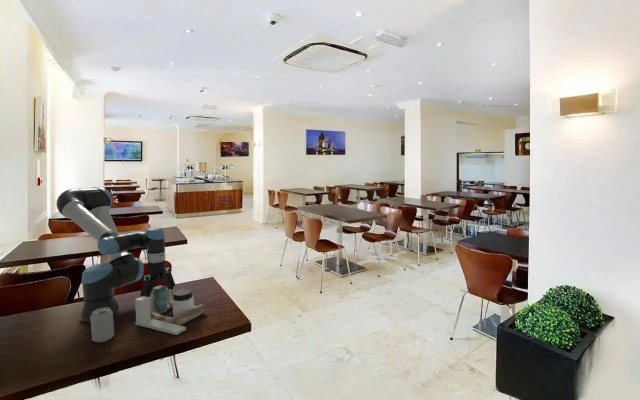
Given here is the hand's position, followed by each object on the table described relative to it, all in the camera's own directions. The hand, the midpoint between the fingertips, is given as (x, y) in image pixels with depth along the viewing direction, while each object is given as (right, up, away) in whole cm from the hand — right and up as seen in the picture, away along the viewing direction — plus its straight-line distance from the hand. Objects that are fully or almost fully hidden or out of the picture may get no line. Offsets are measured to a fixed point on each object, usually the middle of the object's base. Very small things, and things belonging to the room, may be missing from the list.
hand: (159, 306), depth 156 cm
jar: (+14, -4, -5) cm, 15 cm away
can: (-11, -6, -23) cm, 27 cm away
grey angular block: (+8, -4, -15) cm, 17 cm away
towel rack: (+9, -3, -3) cm, 10 cm away
